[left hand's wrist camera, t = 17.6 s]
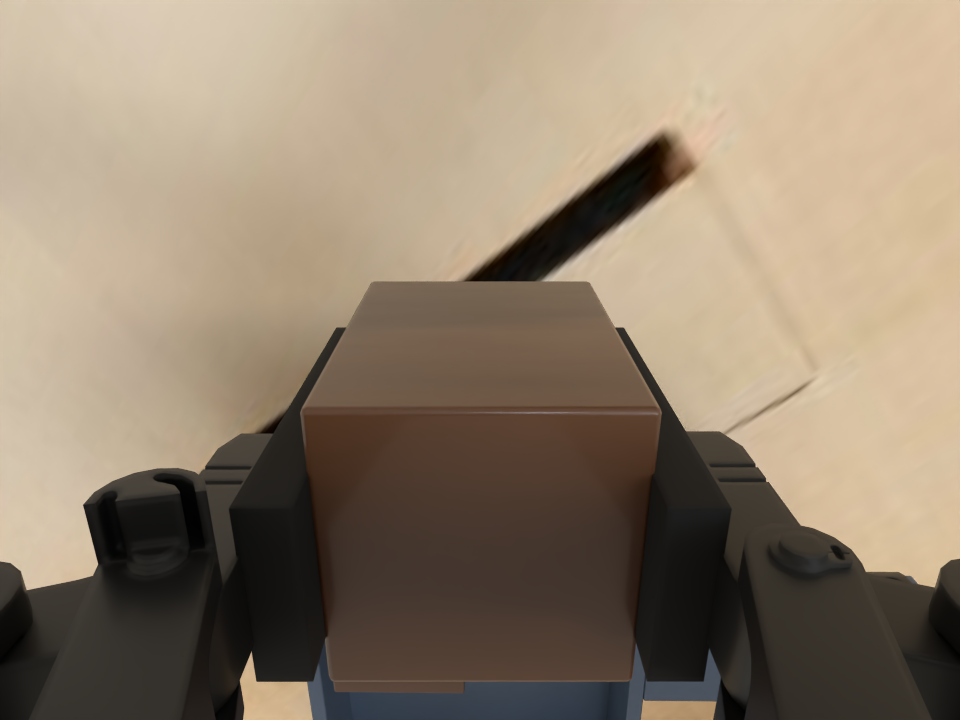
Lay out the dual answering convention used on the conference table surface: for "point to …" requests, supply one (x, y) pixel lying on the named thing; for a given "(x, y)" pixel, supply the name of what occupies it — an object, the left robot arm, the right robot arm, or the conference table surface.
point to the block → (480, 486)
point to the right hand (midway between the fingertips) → (861, 611)
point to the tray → (511, 698)
